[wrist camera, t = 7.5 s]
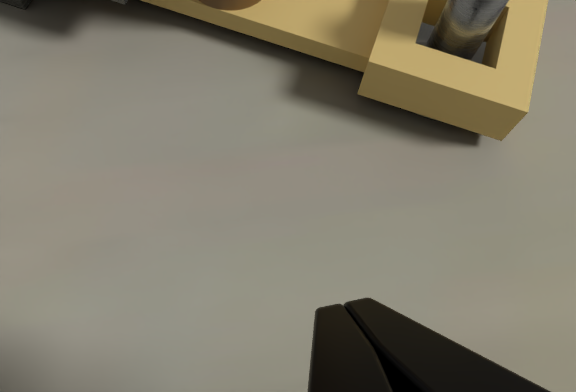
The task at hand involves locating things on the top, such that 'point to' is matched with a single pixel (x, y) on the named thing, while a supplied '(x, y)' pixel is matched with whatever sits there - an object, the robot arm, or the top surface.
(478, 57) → the peg
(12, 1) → the keeper
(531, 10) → the link
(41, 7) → the top surface
